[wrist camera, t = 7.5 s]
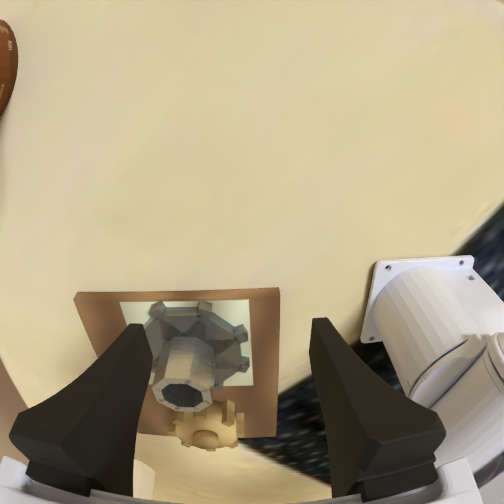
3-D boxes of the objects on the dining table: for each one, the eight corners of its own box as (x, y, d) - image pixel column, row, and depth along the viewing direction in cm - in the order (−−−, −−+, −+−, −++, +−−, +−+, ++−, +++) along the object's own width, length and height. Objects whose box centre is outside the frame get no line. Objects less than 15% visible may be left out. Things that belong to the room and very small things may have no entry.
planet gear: (245, 298, 23) (246, 349, 18) (250, 381, 27) (252, 428, 23) (121, 300, 23) (99, 347, 18) (149, 380, 27) (138, 425, 23)
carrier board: (278, 287, 24) (285, 329, 20) (275, 429, 33) (277, 462, 29) (77, 291, 24) (55, 327, 20) (140, 426, 33) (133, 457, 29)
